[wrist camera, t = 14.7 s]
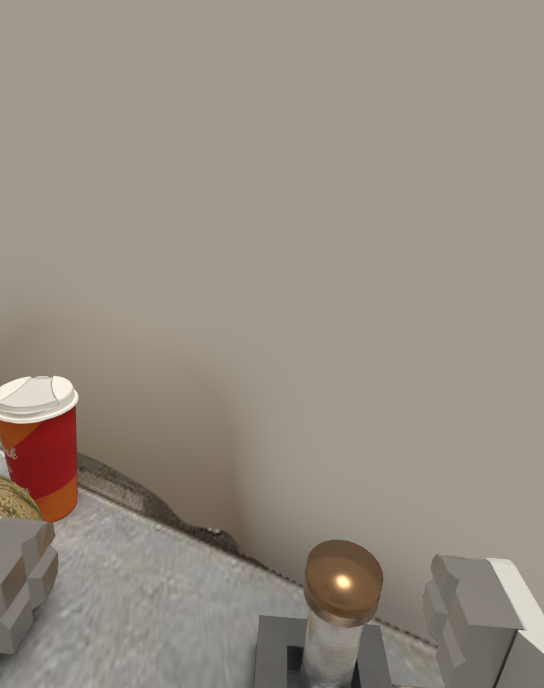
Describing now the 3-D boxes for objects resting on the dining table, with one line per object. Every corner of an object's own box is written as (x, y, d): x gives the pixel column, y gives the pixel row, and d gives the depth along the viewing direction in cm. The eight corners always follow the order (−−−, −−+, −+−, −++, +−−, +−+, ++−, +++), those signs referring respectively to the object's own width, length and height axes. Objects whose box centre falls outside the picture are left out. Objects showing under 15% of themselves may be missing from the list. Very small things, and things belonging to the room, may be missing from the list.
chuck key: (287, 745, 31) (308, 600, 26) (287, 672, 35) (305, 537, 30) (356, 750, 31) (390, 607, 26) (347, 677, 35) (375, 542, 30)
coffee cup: (20, 485, 54) (3, 373, 49) (92, 479, 56) (83, 372, 51) (-3, 537, 47) (-27, 412, 41) (81, 529, 48) (69, 408, 43)
